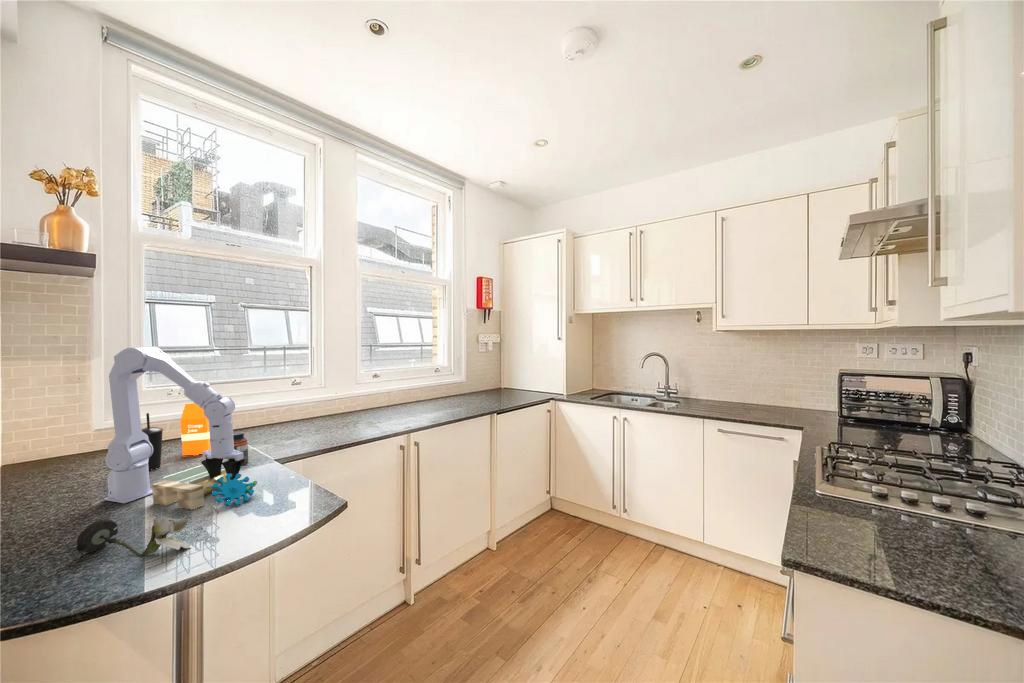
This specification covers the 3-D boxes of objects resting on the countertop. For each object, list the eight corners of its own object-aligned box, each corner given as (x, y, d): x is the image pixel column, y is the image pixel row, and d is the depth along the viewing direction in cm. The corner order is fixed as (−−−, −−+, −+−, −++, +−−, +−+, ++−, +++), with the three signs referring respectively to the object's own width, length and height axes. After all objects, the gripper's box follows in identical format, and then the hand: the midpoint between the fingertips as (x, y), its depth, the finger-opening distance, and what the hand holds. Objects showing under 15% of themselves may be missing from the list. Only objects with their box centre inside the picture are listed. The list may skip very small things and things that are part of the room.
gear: (218, 508, 98) (208, 475, 102) (209, 521, 99) (200, 488, 104) (264, 497, 107) (253, 467, 111) (255, 509, 109) (245, 479, 113)
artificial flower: (119, 543, 88) (134, 498, 90) (195, 565, 83) (209, 516, 85) (69, 555, 80) (86, 505, 82) (150, 579, 75) (166, 525, 77)
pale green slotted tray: (163, 489, 116) (162, 477, 116) (205, 474, 127) (204, 463, 127) (191, 493, 112) (191, 481, 112) (233, 477, 123) (232, 466, 123)
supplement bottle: (224, 466, 135) (222, 434, 134) (241, 460, 140) (239, 430, 140) (235, 468, 132) (233, 436, 132) (252, 462, 138) (250, 431, 138)
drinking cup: (169, 467, 136) (165, 412, 135) (140, 474, 130) (136, 416, 129) (161, 463, 140) (158, 410, 139) (133, 470, 134) (129, 414, 133)
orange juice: (193, 450, 156) (190, 402, 155) (218, 448, 158) (215, 400, 157) (182, 456, 148) (178, 405, 147) (208, 454, 150) (205, 404, 149)
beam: (153, 503, 106) (152, 484, 106) (166, 498, 109) (164, 480, 108) (192, 510, 101) (190, 490, 101) (204, 505, 104) (203, 485, 103)
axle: (196, 499, 107) (194, 485, 107) (186, 500, 108) (184, 486, 108) (238, 482, 118) (236, 470, 118) (229, 483, 120) (226, 471, 120)
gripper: (190, 440, 114) (193, 485, 115) (225, 443, 110) (228, 489, 110) (214, 434, 121) (217, 476, 121) (248, 436, 117) (251, 479, 117)
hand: (224, 481), depth 116 cm, fingers open, 6 cm apart
